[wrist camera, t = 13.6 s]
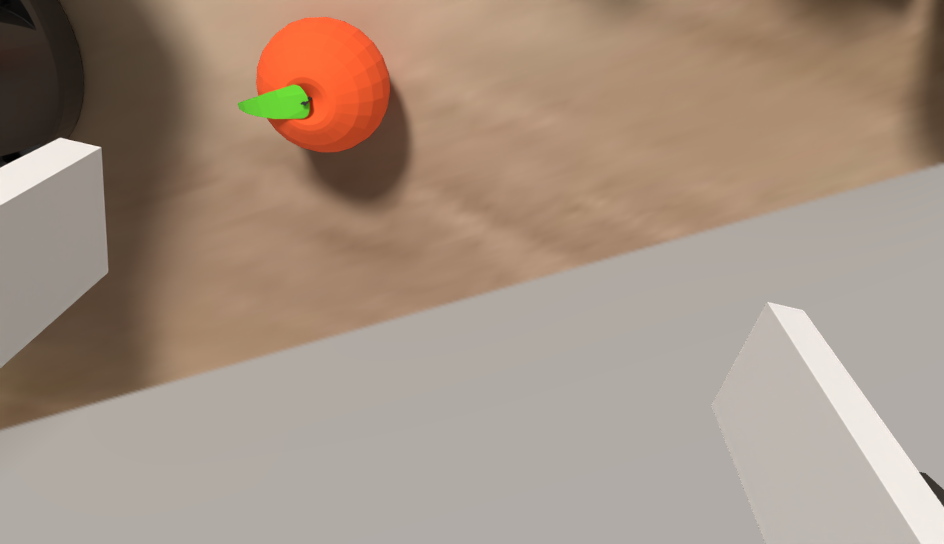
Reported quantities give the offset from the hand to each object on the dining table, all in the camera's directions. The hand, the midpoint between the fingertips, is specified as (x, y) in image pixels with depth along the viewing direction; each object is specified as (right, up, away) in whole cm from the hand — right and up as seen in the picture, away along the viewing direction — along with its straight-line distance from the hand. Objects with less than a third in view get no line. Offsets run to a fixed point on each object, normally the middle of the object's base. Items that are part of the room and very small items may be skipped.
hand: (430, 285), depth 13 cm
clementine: (-7, +12, +25) cm, 29 cm away
